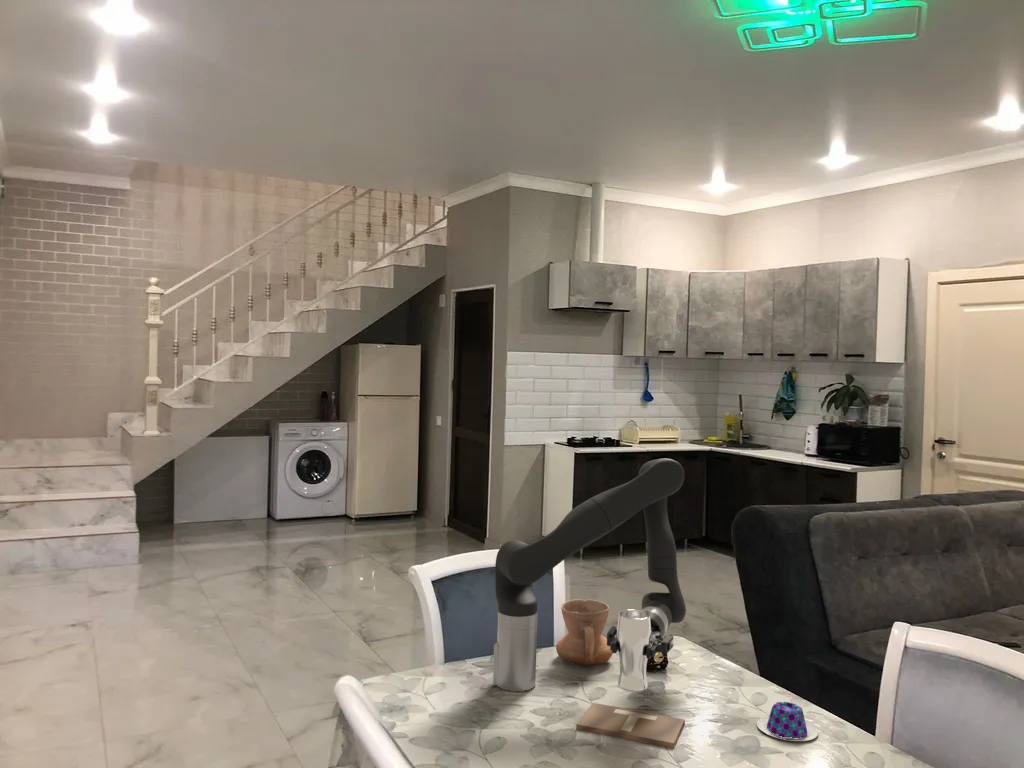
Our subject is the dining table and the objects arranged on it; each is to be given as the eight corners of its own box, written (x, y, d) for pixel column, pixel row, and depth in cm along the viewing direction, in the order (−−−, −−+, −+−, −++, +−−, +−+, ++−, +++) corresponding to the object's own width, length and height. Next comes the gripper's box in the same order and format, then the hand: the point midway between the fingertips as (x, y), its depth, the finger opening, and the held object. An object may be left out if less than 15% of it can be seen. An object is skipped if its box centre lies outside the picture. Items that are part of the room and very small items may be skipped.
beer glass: (649, 694, 162) (650, 620, 161) (614, 690, 163) (616, 617, 163) (650, 681, 168) (651, 610, 168) (617, 678, 170) (618, 607, 170)
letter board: (576, 728, 164) (576, 723, 164) (592, 707, 175) (592, 702, 175) (673, 748, 156) (673, 742, 156) (684, 724, 167) (684, 719, 167)
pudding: (826, 746, 160) (827, 719, 160) (766, 743, 160) (766, 717, 160) (806, 720, 172) (807, 696, 172) (750, 718, 172) (750, 694, 172)
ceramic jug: (554, 648, 213) (555, 595, 212) (609, 649, 212) (610, 596, 212) (557, 674, 195) (558, 617, 194) (617, 676, 194) (618, 618, 194)
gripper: (617, 606, 181) (597, 628, 166) (681, 614, 176) (666, 637, 161) (617, 639, 182) (596, 663, 166) (680, 648, 176) (665, 674, 161)
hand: (631, 651), depth 163 cm, fingers closed on beer glass, 6 cm apart
